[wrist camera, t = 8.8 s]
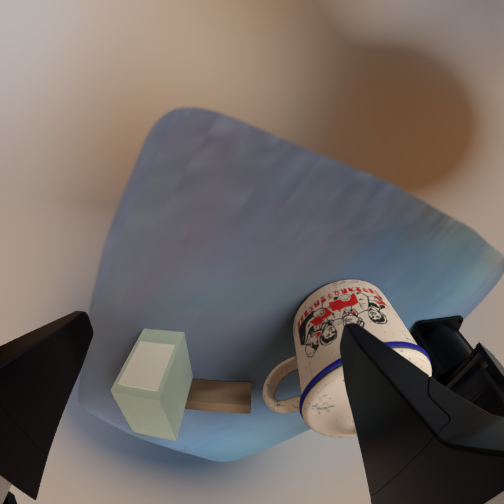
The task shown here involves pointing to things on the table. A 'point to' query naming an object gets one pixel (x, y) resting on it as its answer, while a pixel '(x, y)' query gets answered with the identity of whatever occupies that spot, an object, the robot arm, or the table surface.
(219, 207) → the table surface
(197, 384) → the wooden block
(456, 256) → the table surface
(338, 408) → the teacup with lid
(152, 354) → the sage tin
